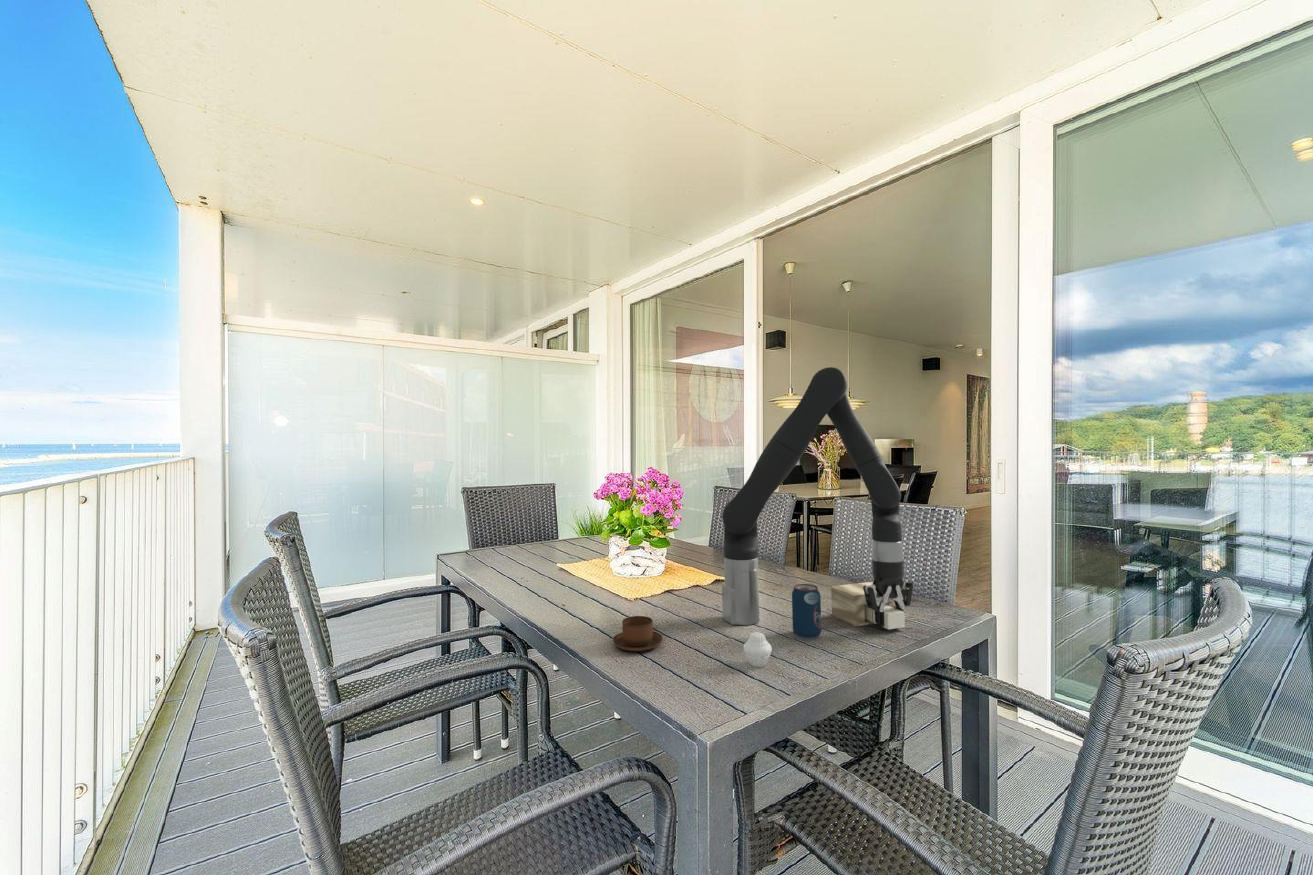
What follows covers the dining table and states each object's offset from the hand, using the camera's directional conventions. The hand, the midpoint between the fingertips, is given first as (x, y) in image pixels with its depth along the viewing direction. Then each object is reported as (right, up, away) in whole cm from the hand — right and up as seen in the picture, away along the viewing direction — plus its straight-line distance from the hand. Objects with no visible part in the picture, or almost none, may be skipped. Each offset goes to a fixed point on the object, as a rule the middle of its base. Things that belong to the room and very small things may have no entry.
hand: (889, 623), depth 136 cm
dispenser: (-3, -1, +9) cm, 10 cm away
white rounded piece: (-38, -2, -20) cm, 43 cm away
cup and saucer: (-64, -3, -8) cm, 65 cm away
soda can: (-22, -2, -3) cm, 22 cm away
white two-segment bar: (-1, -1, +5) cm, 5 cm away
